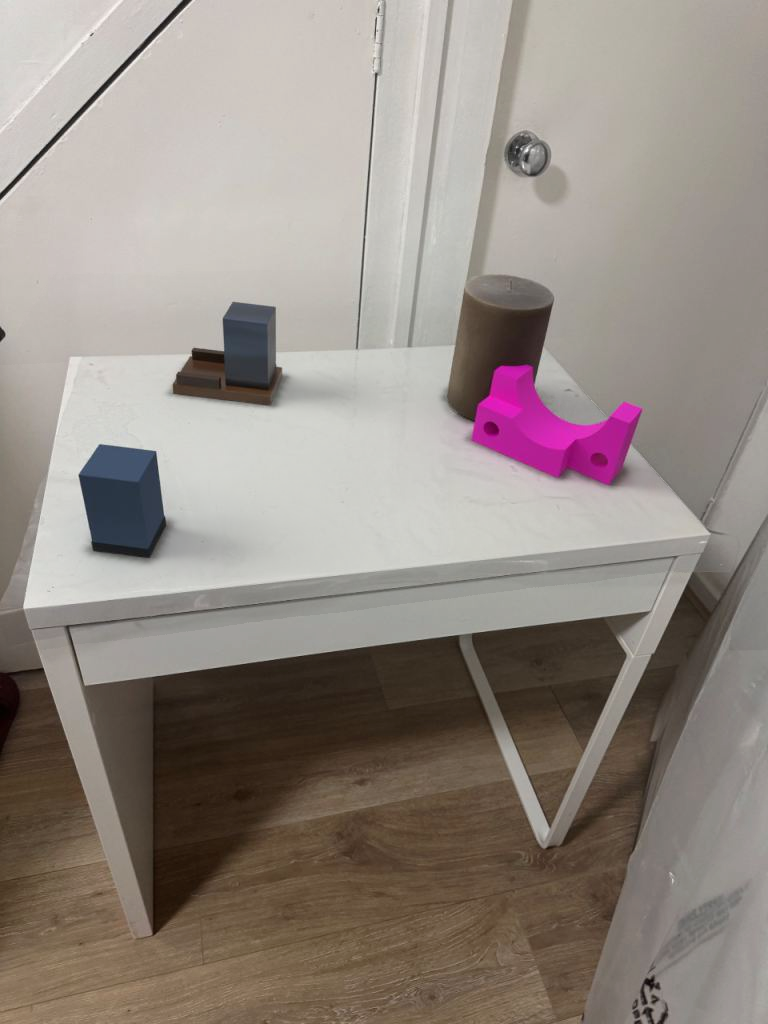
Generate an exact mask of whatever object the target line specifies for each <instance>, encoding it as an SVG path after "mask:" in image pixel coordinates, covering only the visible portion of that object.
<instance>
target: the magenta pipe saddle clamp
mask: <svg viewBox="0 0 768 1024" xmlns="http://www.w3.org/2000/svg"><path fill="white" fill-rule="evenodd" d="M643 410H644V408H642V407H640V406H637V405H634V404H632V403H629V402H627V401H623V402H621V404H620V405H619V406H618V407H617V408H616V409H615V410H614V411H613V412H612V413H611V414H610V415H609V417H608V418H607V419H605V420H603V421H601V422H597V423H593V424H578V423H572V422H569V421H567V420H564V419H562V418H561V417H559V416H558V415H556V414H555V413H554V412H552V411H551V410H550V409H549V408H548V407H547V406H546V404H545V403H544V402H543V400H542V399H541V397H540V396H539V394H538V392H537V389H536V386H535V385H534V381H533V367H532V366H529V365H522V366H500V367H499V368H497V369H496V370H495V371H494V375H493V381H492V386H491V391H490V396H488V397H487V398H486V399H485V400H483V401H482V402H481V403H479V404H478V408H477V413H476V418H475V420H474V423H473V430H472V434H471V441H472V442H474V443H476V444H479V445H481V446H483V447H485V448H488V449H490V450H493V451H495V452H497V453H500V454H502V455H504V456H506V457H509V458H511V459H514V460H515V461H518V462H520V463H522V464H525V465H526V466H529V467H532V468H534V469H536V470H537V471H538V470H539V471H540V472H542V473H545V474H547V475H550V476H552V477H554V478H556V479H558V478H559V477H560V476H561V475H562V474H563V473H564V472H565V470H567V468H568V469H569V470H572V471H574V472H577V473H579V474H581V475H584V476H587V477H588V478H591V479H593V480H595V481H598V482H600V483H602V484H605V485H607V486H610V484H611V483H612V482H613V481H614V479H616V477H617V476H618V474H619V473H620V472H621V471H622V470H623V468H624V465H625V461H626V459H627V456H628V452H629V449H630V447H631V443H632V442H633V438H634V435H635V433H636V429H637V426H638V423H639V421H640V418H641V415H642V412H643Z"/></svg>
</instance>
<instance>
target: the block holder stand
mask: <svg viewBox="0 0 768 1024" xmlns="http://www.w3.org/2000/svg"><path fill="white" fill-rule="evenodd" d="M276 311H277V307H276V306H272V305H264V304H256V303H249V302H248V303H247V302H239V301H232V302H231V303H230V306H229V307H228V309H227V310H226V312H225V314H224V315H223V317H222V333H223V334H222V335H223V337H222V338H223V350H219V349H218V350H216V349H210V348H199V347H192V349H191V355H190V356H189V357H188V359H187V360H186V362H185V363H184V365H183V367H182V368H181V370H180V371H177V372H176V374H175V379H174V381H173V383H172V393H173V394H176V395H183V396H192V397H198V398H199V397H200V398H209V399H214V400H215V399H216V400H224V401H233V402H241V403H247V404H248V403H249V404H257V405H265V406H271V405H272V402H273V400H274V398H275V395H276V392H277V390H278V387H279V385H280V382H281V380H282V377H283V367H281V366H277V312H276Z"/></svg>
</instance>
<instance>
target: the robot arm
mask: <svg viewBox="0 0 768 1024" xmlns="http://www.w3.org/2000/svg"><path fill="white" fill-rule="evenodd" d="M6 336H7V335H6V332H5V330H4V329H3V328H2V326H0V343H1V342H2V341H3V340H4V339H5V338H6Z"/></svg>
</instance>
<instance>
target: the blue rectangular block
mask: <svg viewBox="0 0 768 1024" xmlns="http://www.w3.org/2000/svg"><path fill="white" fill-rule="evenodd" d="M157 454H158V453H157V451H156V450H153V449H152V450H151V449H143V448H134V447H127V446H119V445H111V444H105V443H103V444H102V443H99V444H98V445H97V447H96V448H95V450H94V451H93V452H92V454H91V456H90V457H89V459H88V460H87V462H86V463H85V464H84V465H83V467H82V469H81V470H80V471H79V473H78V479H79V480H78V481H79V485H80V489H81V494H82V499H83V505H84V509H85V514H86V519H87V523H88V528H89V533H90V539H91V542H90V543H91V547H92V551H95V552H102V553H103V552H104V553H108V554H109V553H110V554H117V555H125V556H134V557H143V558H150V557H151V556H152V554H153V552H154V550H155V548H156V546H157V544H158V542H159V540H160V538H161V536H162V534H163V532H164V530H165V527H166V525H167V519H166V515H165V511H164V503H163V495H162V486H161V479H160V469H159V463H158V455H157Z"/></svg>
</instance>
